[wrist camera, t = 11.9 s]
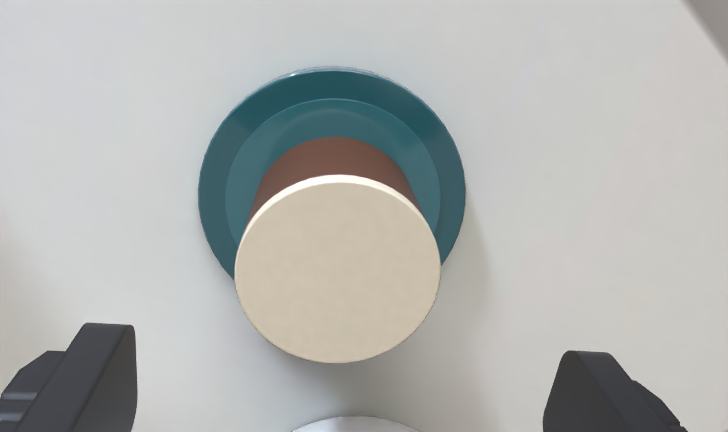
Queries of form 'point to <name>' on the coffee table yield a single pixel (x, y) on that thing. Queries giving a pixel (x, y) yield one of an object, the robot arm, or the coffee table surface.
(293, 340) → the cake
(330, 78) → the cake plate
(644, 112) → the coffee table surface
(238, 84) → the coffee table surface
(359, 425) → the teacup
